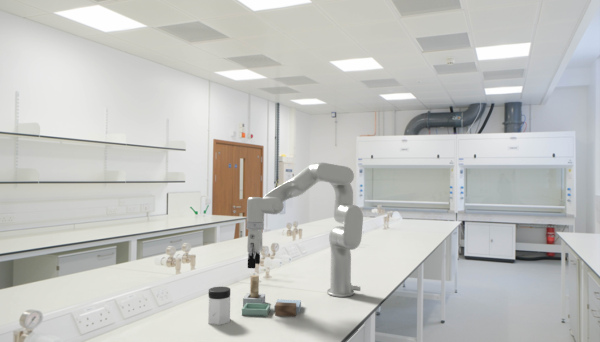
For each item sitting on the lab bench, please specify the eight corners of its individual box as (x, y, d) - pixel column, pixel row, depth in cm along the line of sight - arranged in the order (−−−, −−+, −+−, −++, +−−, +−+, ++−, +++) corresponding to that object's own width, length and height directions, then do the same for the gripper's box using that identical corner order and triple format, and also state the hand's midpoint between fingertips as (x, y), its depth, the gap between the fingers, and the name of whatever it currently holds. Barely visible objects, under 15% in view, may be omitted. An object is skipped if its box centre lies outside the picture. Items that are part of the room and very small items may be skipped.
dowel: (259, 303, 178) (259, 275, 178) (257, 305, 175) (257, 277, 175) (251, 303, 178) (251, 275, 179) (249, 305, 175) (249, 277, 175)
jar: (202, 323, 153) (203, 290, 153) (213, 316, 161) (214, 285, 161) (224, 326, 150) (225, 293, 150) (234, 319, 158) (235, 287, 158)
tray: (270, 310, 169) (270, 303, 169) (266, 316, 161) (267, 310, 161) (246, 309, 170) (246, 302, 170) (241, 315, 162) (241, 309, 162)
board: (300, 307, 175) (301, 300, 175) (298, 314, 166) (299, 306, 166) (277, 306, 176) (277, 299, 176) (274, 313, 167) (274, 305, 167)
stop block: (296, 313, 166) (296, 303, 166) (295, 316, 162) (295, 306, 162) (276, 312, 166) (276, 302, 167) (275, 315, 163) (275, 305, 163)
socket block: (265, 302, 180) (265, 294, 180) (261, 307, 172) (261, 299, 172) (247, 301, 181) (247, 293, 181) (242, 306, 173) (243, 298, 173)
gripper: (259, 228, 168) (258, 270, 168) (267, 224, 185) (265, 262, 185) (241, 227, 169) (240, 269, 168) (250, 223, 186) (249, 261, 186)
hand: (253, 265), depth 177 cm, fingers open, 9 cm apart
